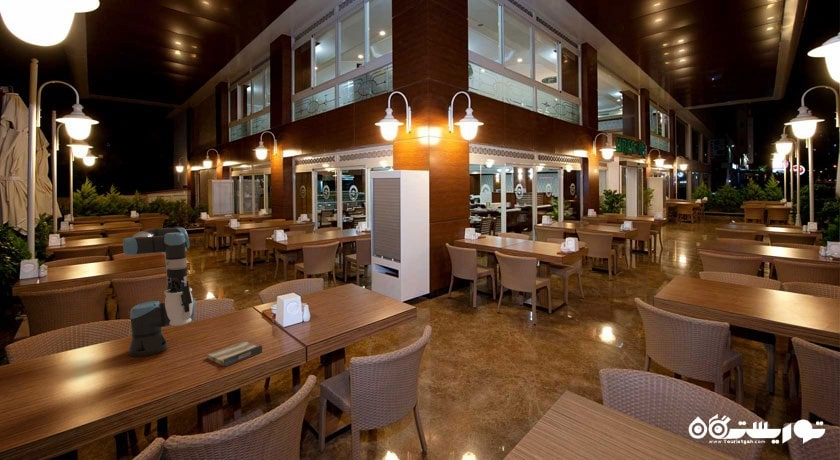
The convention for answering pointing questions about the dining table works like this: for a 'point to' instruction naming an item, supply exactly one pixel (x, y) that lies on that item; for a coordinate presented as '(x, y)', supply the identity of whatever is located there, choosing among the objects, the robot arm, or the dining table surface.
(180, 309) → the jar
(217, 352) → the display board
